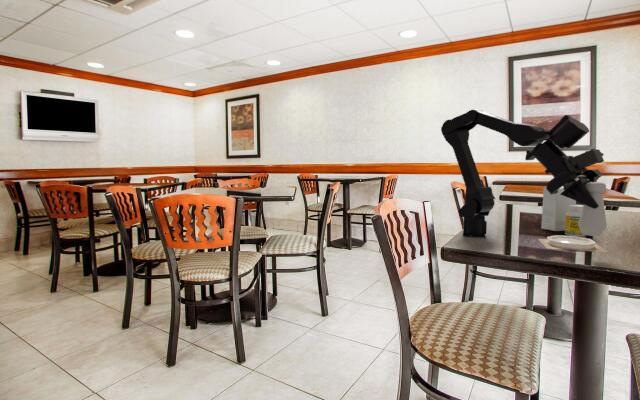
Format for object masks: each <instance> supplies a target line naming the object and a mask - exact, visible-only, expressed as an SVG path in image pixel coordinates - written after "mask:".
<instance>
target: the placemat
mask: <svg viewBox="0 0 640 400" xmlns="http://www.w3.org/2000/svg"><path fill="white" fill-rule="evenodd" d="M537 240H538V241H539V242H540V243H541V244H542V245H543V246H544V248H545V249H548V250H562V251H563V250H564V251H574V250H573V249H564V248H559V247H555V246H551V245H549V244H548V239H547V238H537ZM577 251H578V252H579V251H580V252H597V253H598V252H599V253H608V251H607V250H606V249H604V248H603V247H601V246H600V245H598V244H597V243H596V245H595V248H594V249H590V250H577Z"/></svg>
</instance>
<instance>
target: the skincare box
mask: <svg viewBox="0 0 640 400" xmlns="http://www.w3.org/2000/svg"><path fill="white" fill-rule="evenodd" d="M563 188H564V187H563V186H562V187H561V188H559V189H558V193H557V194H552V195H551V194H550V193H549V192H548V191H547V190H546V186H544V187H543V191H542V192H543V193H542V195H543V196H542V211H541V212H542V213H541V227H540V228H541V229H542V230H549V231H553V232H561V231H562V232H563V231H565V221H566V213H567V212H568V211H570V210H569V205H577V201H575V200H573V199H570V198H568V197H566V196H562V195H560V194H561V193H562V192H563V191H565V190H564V189H563Z"/></svg>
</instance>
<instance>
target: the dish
mask: <svg viewBox="0 0 640 400" xmlns="http://www.w3.org/2000/svg"><path fill="white" fill-rule="evenodd" d="M546 239H548V244H549V245H551V246H555V247H559V248H564V249H573V250H572V251H578V250H590V249H594V248H595V245H596V244H597V242H595V240H593V239H592V238H586V237H583V236H572V235H561V234H560V235H559V234H557V235H556V234H555V235H550V236H547V237H546Z"/></svg>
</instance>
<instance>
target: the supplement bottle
mask: <svg viewBox="0 0 640 400" xmlns="http://www.w3.org/2000/svg"><path fill="white" fill-rule="evenodd" d="M582 209H583V204H582V205H581V204H576V205H569V210H570V211H568V212H567V213H566V221H565V230H564V234H565V235H566V236H576V237H584V236H586V235H584V234H582V233H581V230H580V228H579V226H578V223H579V219H580V216H581V212H582Z"/></svg>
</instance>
